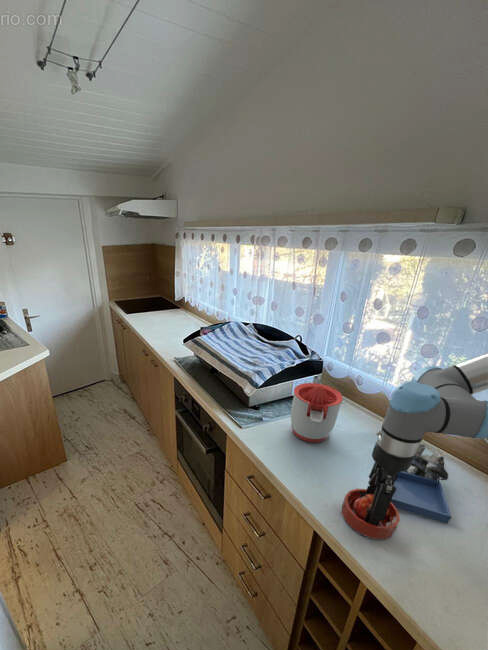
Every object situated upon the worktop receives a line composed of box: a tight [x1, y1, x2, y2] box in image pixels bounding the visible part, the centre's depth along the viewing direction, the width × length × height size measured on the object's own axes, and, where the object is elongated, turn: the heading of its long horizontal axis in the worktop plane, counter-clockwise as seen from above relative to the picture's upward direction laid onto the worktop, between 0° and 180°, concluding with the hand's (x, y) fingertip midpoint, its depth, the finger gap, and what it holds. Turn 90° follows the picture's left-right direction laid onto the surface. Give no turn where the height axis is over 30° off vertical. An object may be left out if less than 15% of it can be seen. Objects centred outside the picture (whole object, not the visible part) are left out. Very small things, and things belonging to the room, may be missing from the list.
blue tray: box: [391, 471, 453, 525], centre depth 85 cm, size 13×13×3 cm
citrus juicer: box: [290, 382, 344, 444], centre depth 107 cm, size 16×17×20 cm
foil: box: [406, 444, 449, 482], centre depth 94 cm, size 12×11×15 cm
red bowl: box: [341, 488, 401, 540], centre depth 79 cm, size 12×12×4 cm
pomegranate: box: [354, 490, 389, 526], centre depth 78 cm, size 7×7×10 cm
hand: (367, 516), depth 79 cm, fingers closed on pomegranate, 7 cm apart
